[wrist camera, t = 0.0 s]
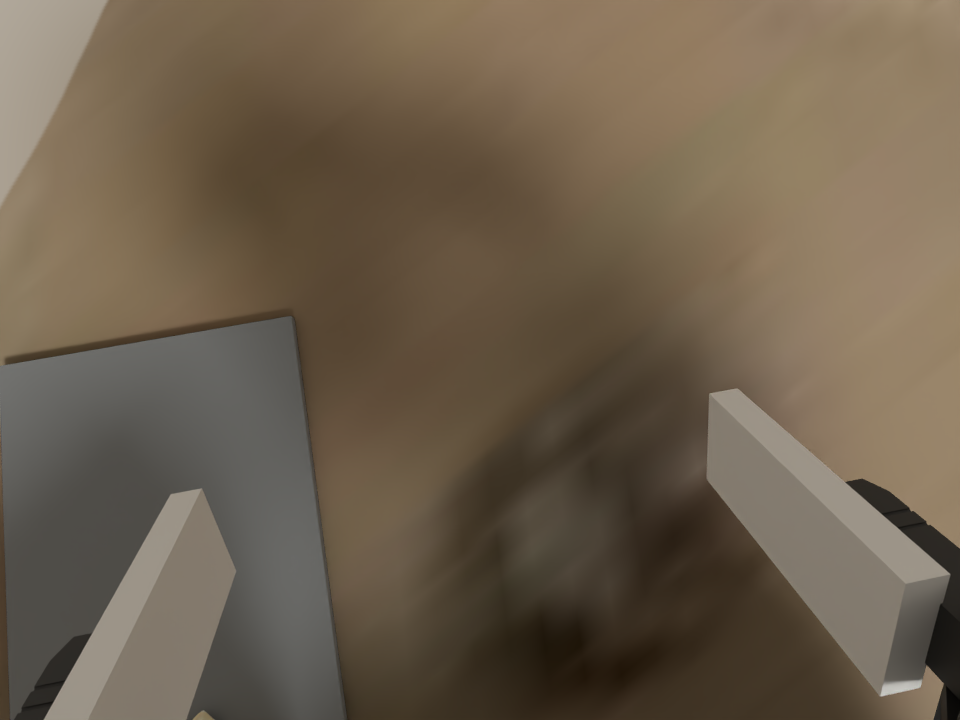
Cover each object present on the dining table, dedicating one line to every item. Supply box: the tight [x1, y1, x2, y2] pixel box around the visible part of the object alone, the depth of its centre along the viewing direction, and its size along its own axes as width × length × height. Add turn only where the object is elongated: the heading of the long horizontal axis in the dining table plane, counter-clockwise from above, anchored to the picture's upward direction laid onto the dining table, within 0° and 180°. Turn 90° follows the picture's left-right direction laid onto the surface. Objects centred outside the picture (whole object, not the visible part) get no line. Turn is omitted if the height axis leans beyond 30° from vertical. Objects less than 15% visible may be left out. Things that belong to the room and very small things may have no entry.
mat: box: [0, 316, 347, 720], centre depth 29 cm, size 20×15×1 cm
